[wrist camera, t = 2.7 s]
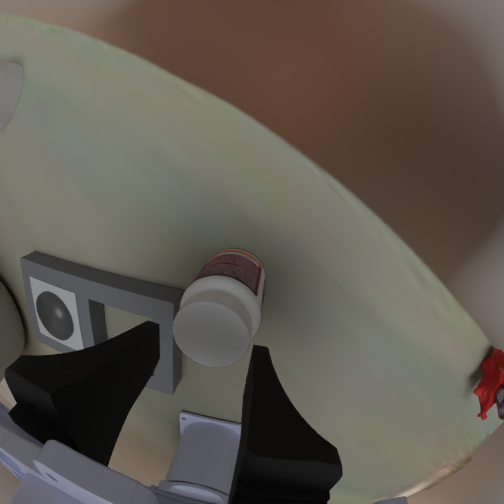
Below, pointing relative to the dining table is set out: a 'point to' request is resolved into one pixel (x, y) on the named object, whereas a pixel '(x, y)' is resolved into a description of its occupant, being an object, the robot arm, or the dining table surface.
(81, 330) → the socket strip
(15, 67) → the base with upright slab
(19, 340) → the canister
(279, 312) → the dining table surface
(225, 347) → the pill bottle
